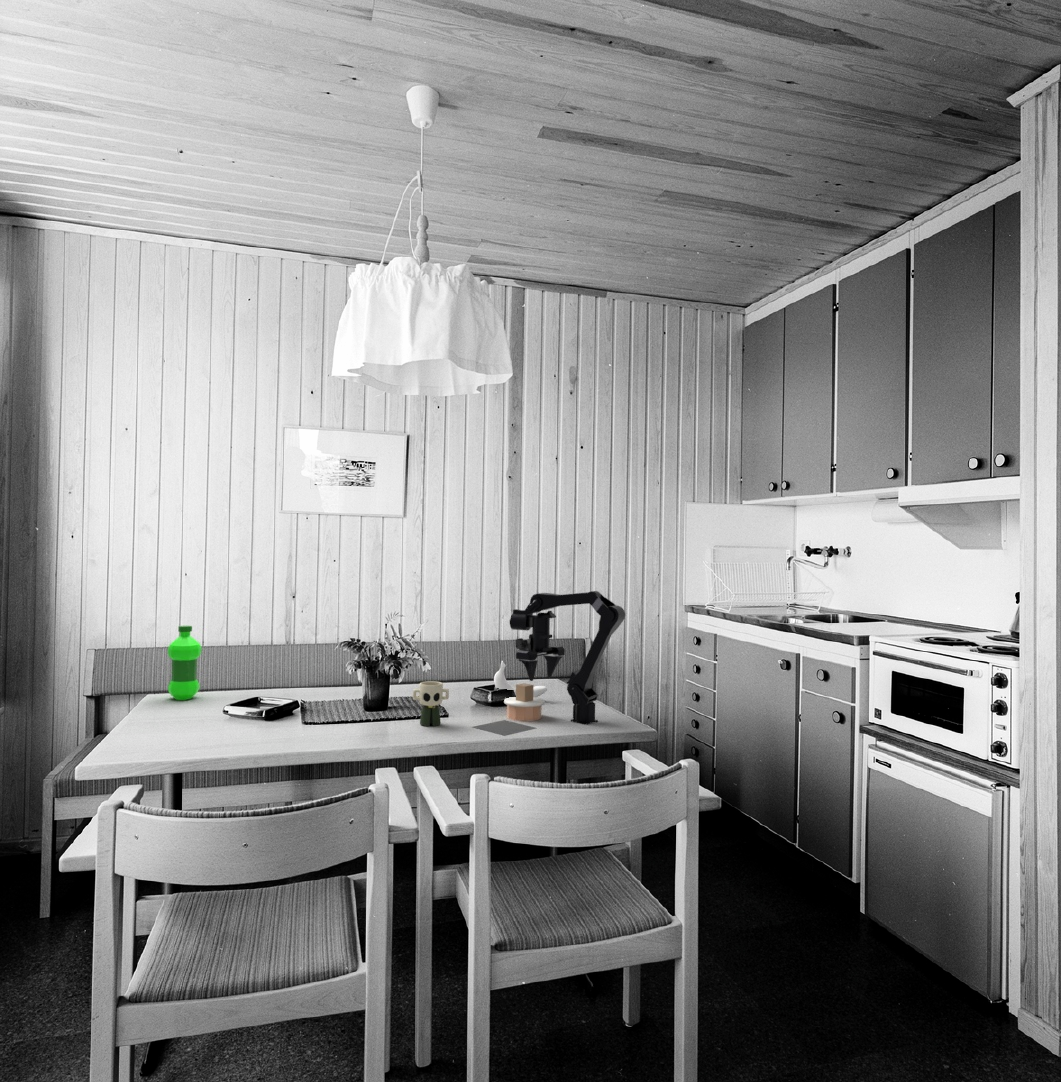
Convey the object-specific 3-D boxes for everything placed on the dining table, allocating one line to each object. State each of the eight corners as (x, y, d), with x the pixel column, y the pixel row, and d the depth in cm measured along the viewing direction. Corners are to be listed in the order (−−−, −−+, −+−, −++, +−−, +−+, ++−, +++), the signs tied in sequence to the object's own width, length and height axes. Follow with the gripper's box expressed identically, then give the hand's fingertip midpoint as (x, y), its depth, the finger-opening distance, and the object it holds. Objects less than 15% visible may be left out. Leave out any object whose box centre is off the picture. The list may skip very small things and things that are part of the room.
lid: (552, 703, 250) (553, 685, 250) (525, 708, 240) (525, 690, 240) (523, 697, 259) (524, 679, 259) (495, 702, 249) (496, 684, 249)
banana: (547, 702, 276) (548, 661, 276) (493, 702, 274) (494, 661, 274) (545, 699, 281) (546, 659, 281) (493, 699, 279) (494, 658, 279)
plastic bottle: (166, 696, 271) (168, 625, 271) (199, 694, 275) (201, 624, 275) (166, 702, 261) (168, 628, 262) (200, 700, 266) (202, 627, 266)
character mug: (412, 729, 232) (414, 685, 232) (411, 723, 239) (412, 681, 239) (449, 728, 234) (450, 685, 234) (446, 722, 241) (447, 680, 241)
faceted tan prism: (547, 718, 250) (548, 703, 250) (524, 723, 242) (525, 707, 242) (523, 713, 257) (523, 698, 257) (500, 718, 249) (500, 702, 249)
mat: (536, 729, 235) (536, 727, 235) (504, 737, 225) (504, 735, 225) (504, 721, 244) (504, 720, 244) (471, 728, 234) (471, 727, 234)
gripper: (540, 627, 266) (539, 673, 266) (503, 631, 252) (503, 679, 252) (565, 630, 259) (565, 676, 259) (529, 634, 245) (529, 683, 245)
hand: (540, 679), depth 254 cm, fingers open, 9 cm apart
